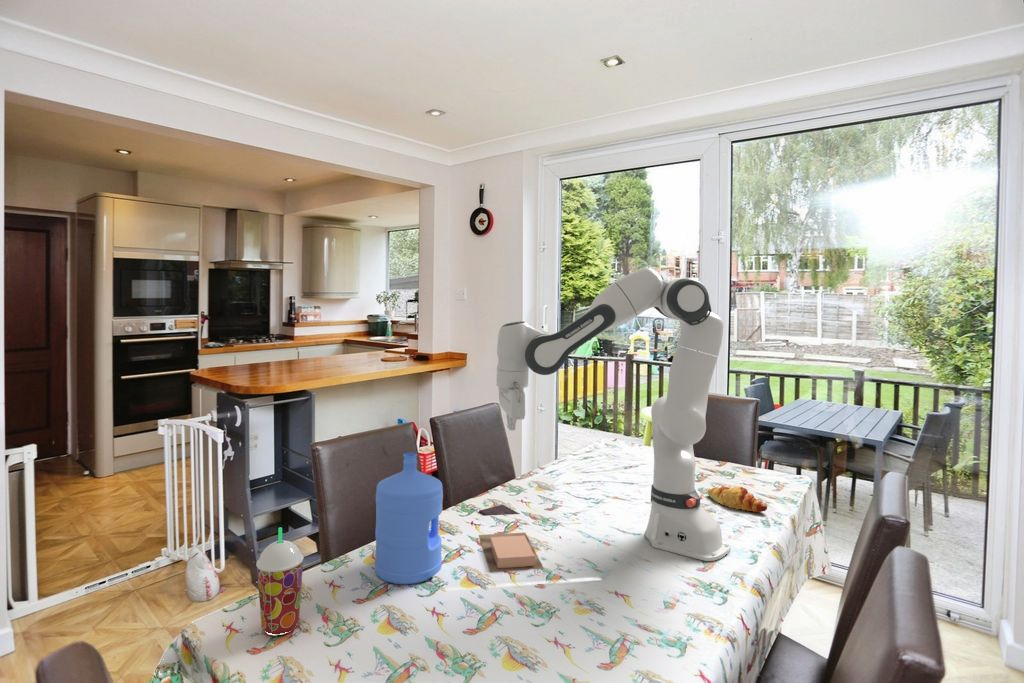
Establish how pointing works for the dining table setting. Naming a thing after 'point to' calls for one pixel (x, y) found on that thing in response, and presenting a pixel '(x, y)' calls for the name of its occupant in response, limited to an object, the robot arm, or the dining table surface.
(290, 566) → the smoothie
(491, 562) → the walnut board
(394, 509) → the water jug
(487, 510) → the chocolate bar
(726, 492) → the croissant
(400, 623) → the dining table surface
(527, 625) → the dining table surface
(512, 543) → the terracotta tile
